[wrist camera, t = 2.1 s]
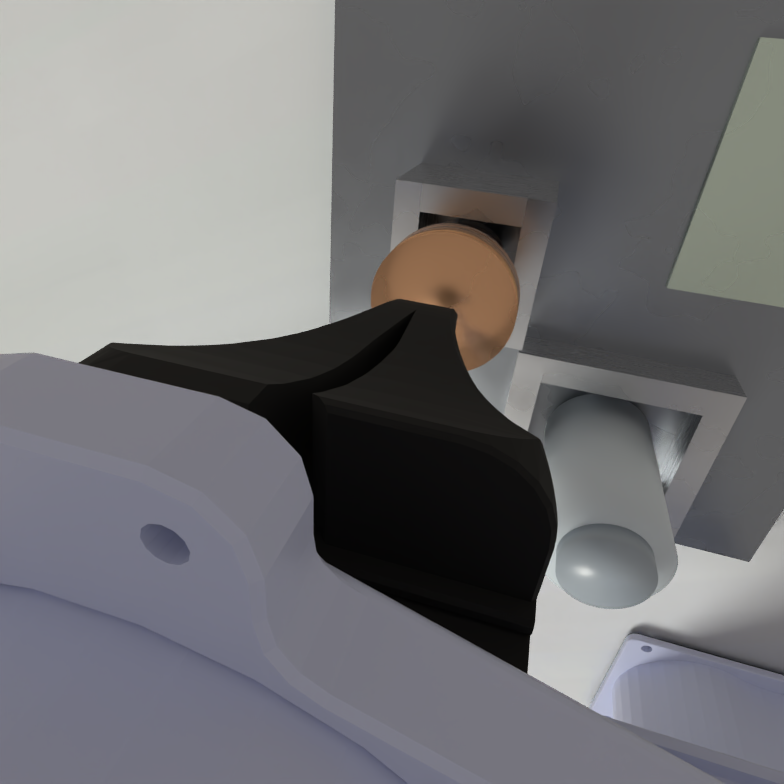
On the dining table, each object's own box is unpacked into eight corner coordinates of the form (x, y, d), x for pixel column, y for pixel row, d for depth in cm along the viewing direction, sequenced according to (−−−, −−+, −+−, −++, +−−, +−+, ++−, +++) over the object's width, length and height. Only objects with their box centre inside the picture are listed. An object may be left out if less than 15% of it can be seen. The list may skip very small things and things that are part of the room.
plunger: (540, 207, 16) (532, 247, 12) (514, 324, 18) (501, 386, 14) (416, 189, 17) (375, 222, 13) (404, 303, 19) (366, 358, 15)
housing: (1067, 16, 13) (1251, -2, 10) (741, 541, 24) (772, 627, 20) (349, -32, 17) (290, -58, 13) (335, 441, 27) (300, 499, 24)
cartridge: (665, 406, 20) (704, 547, 14) (631, 485, 22) (653, 637, 16) (557, 384, 21) (552, 509, 15) (534, 462, 23) (522, 599, 17)
